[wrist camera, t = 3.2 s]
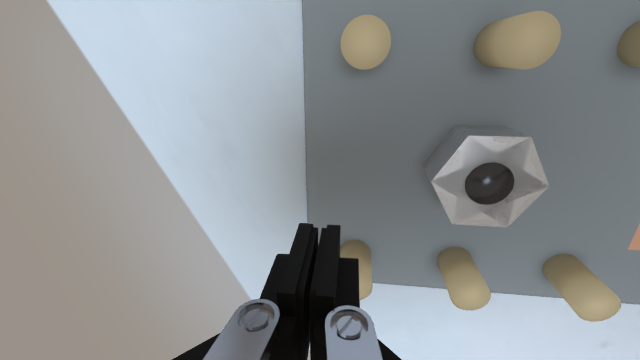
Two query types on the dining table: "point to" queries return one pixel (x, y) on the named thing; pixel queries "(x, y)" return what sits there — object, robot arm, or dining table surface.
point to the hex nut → (485, 174)
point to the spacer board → (482, 110)
